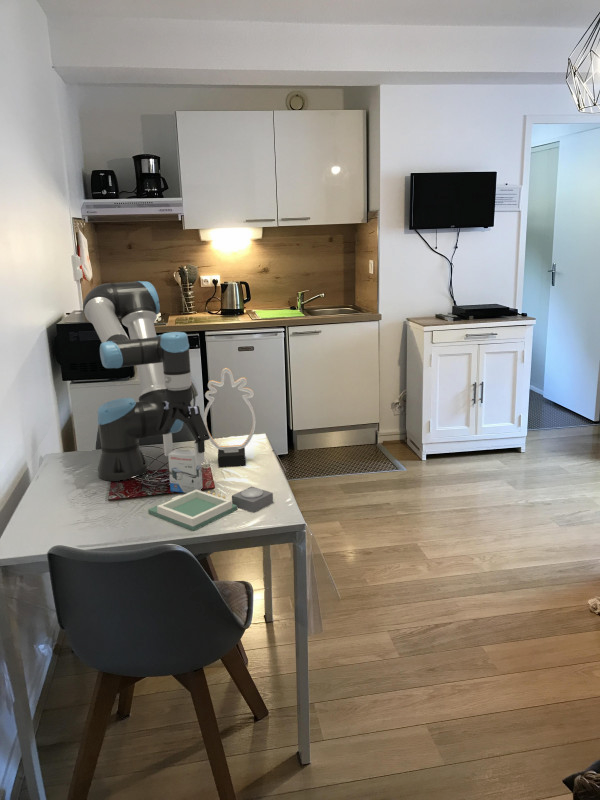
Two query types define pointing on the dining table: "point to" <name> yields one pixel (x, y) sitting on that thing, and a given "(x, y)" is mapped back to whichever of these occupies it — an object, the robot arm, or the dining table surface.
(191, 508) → the board
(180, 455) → the ink box
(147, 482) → the dining table surface
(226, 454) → the lamp
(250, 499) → the push button
